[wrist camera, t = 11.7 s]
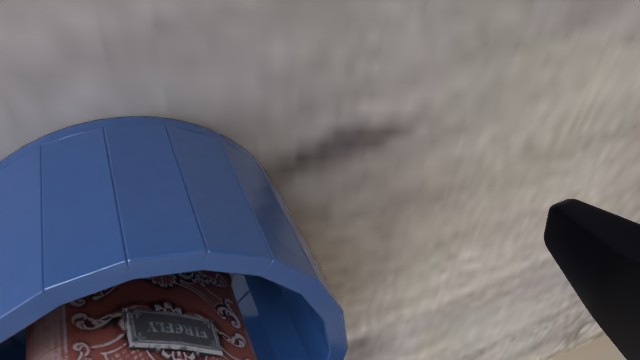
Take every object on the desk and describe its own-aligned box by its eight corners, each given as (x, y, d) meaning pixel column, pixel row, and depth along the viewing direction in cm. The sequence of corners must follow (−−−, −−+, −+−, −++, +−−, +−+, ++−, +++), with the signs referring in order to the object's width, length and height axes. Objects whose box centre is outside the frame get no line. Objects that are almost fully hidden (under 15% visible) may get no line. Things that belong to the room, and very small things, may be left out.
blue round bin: (251, 72, 20) (327, 190, 15) (298, 293, 28) (358, 419, 23) (-138, 186, 17) (-210, 378, 12) (38, 394, 25) (40, 563, 20)
